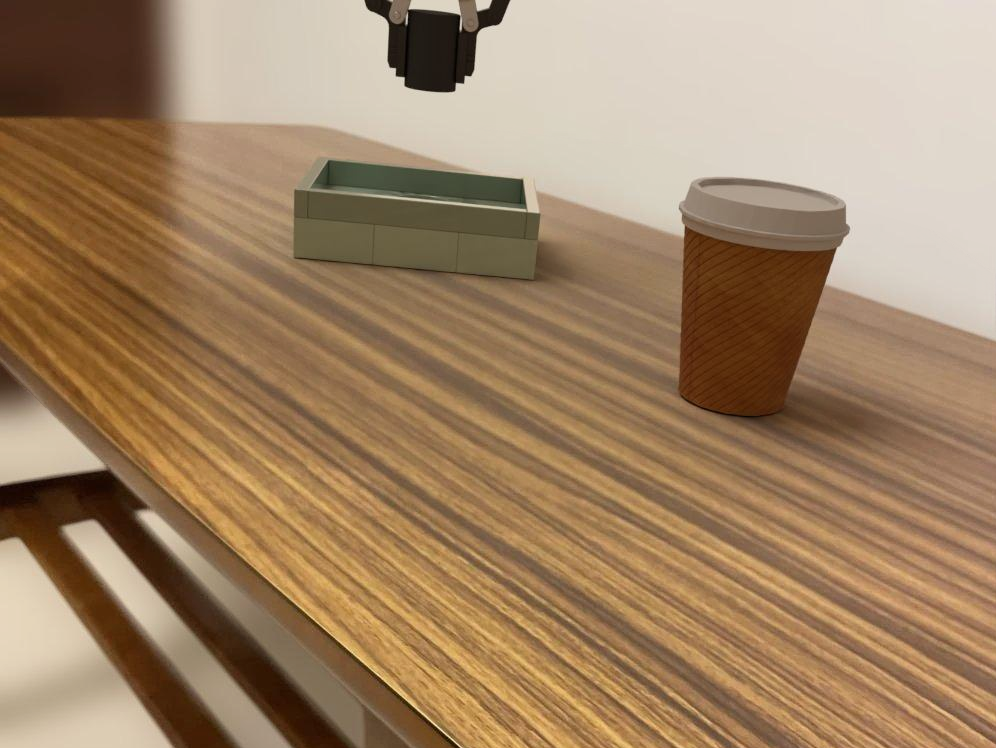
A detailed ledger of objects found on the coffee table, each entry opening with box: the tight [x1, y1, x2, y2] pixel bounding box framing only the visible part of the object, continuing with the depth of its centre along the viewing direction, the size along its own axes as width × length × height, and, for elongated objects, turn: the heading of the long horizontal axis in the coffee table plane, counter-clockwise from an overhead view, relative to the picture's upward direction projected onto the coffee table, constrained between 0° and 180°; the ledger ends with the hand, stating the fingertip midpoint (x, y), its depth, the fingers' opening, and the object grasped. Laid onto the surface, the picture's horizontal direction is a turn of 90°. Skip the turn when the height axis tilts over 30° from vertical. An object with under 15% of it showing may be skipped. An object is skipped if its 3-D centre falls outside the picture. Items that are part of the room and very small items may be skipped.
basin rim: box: [293, 156, 541, 240], centre depth 97 cm, size 18×14×2 cm
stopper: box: [403, 8, 462, 94], centre depth 95 cm, size 4×4×6 cm
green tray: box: [292, 184, 539, 281], centre depth 98 cm, size 18×15×3 cm
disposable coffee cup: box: [678, 176, 851, 417], centre depth 71 cm, size 10×10×12 cm
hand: (430, 78), depth 96 cm, fingers closed on stopper, 4 cm apart
